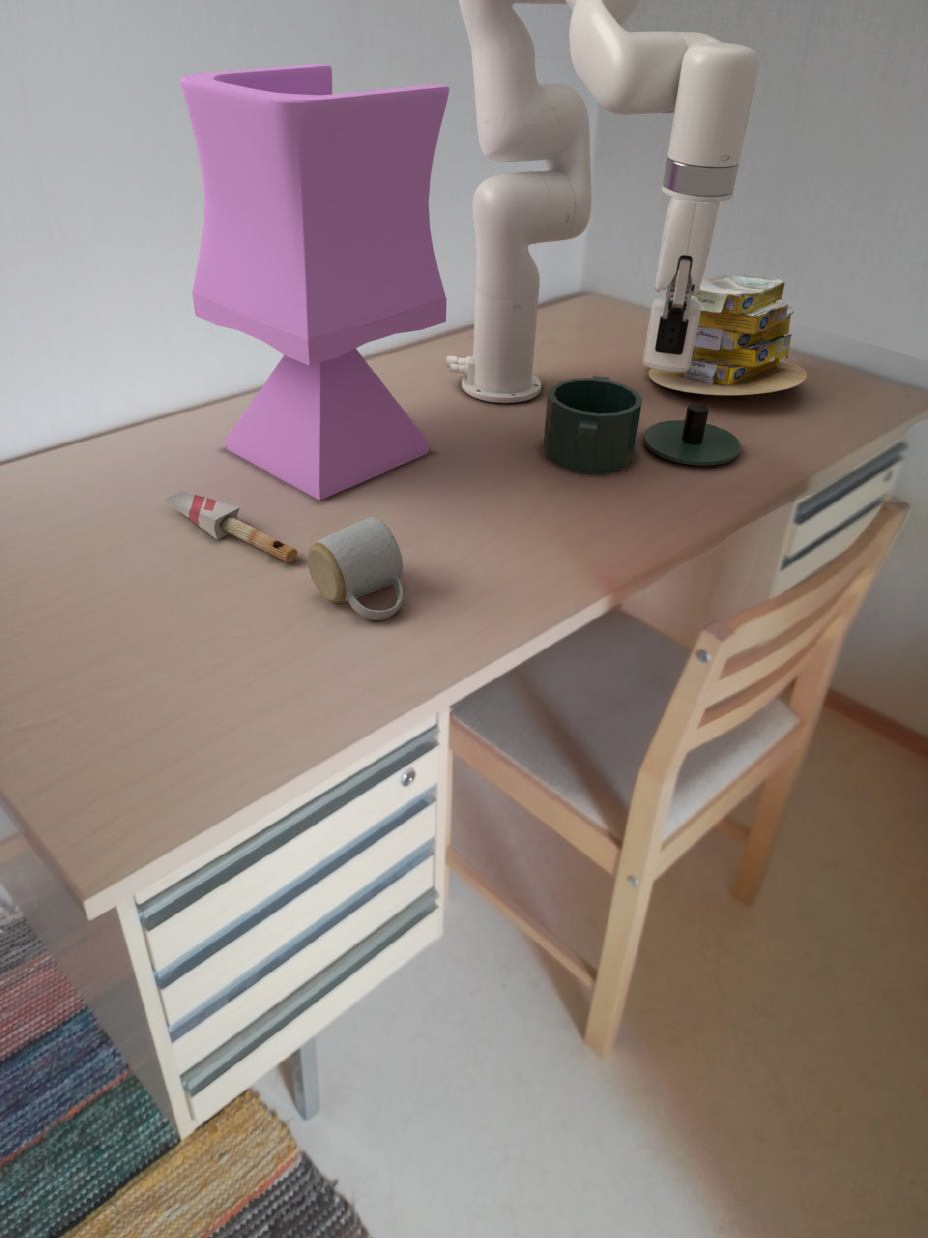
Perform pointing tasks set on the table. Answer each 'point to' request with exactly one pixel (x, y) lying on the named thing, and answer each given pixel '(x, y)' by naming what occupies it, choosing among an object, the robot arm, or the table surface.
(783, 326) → the boxes on wooden plate
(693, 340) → the eye dropper bottle
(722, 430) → the lid
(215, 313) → the pink goblet vase
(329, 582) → the ceramic mug
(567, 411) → the pot
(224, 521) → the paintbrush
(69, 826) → the table surface
